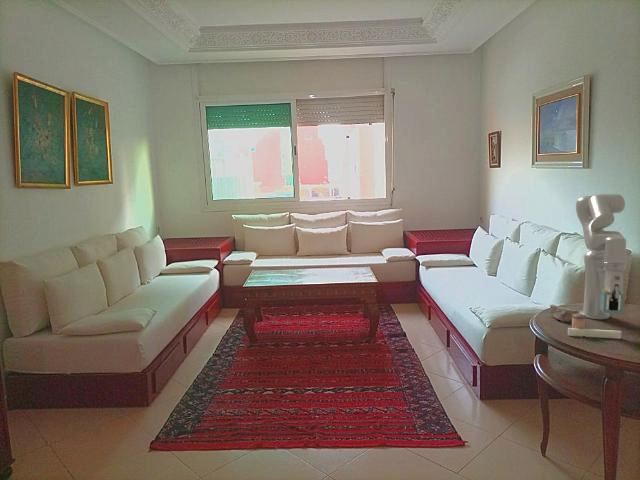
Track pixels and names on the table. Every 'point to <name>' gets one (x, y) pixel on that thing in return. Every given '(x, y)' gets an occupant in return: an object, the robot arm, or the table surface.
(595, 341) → the table surface
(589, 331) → the rail
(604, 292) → the tea tin
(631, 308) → the table surface
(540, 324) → the table surface
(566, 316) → the mineral specimen
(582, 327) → the spice jar
